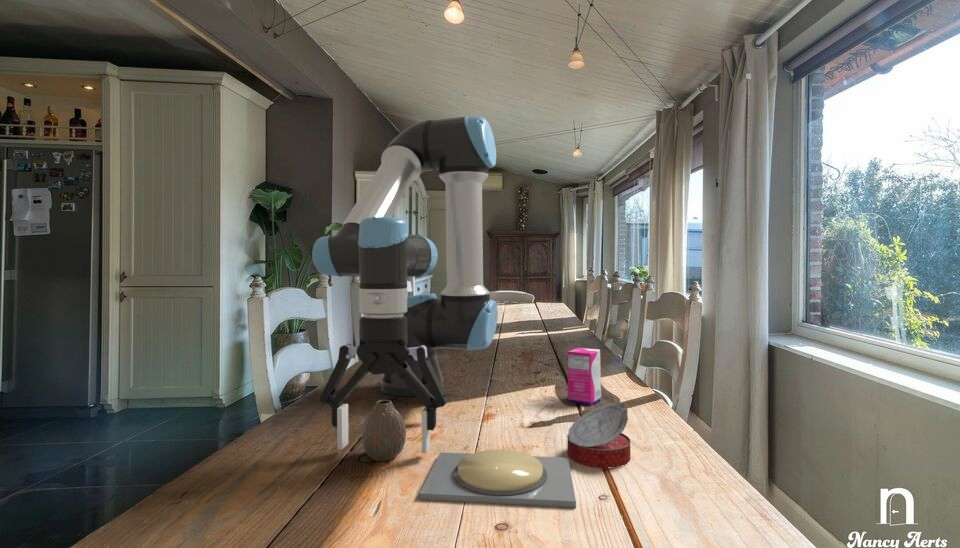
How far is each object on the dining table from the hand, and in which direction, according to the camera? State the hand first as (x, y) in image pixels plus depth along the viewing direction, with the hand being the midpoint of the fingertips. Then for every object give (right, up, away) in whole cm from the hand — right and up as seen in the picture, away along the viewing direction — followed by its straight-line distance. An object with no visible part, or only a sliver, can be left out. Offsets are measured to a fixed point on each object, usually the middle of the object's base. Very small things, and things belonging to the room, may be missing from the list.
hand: (384, 448), depth 78 cm
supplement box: (+39, -1, +32) cm, 50 cm away
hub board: (+18, -1, -9) cm, 20 cm away
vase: (0, -2, 0) cm, 2 cm away
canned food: (+34, -2, 0) cm, 34 cm away
